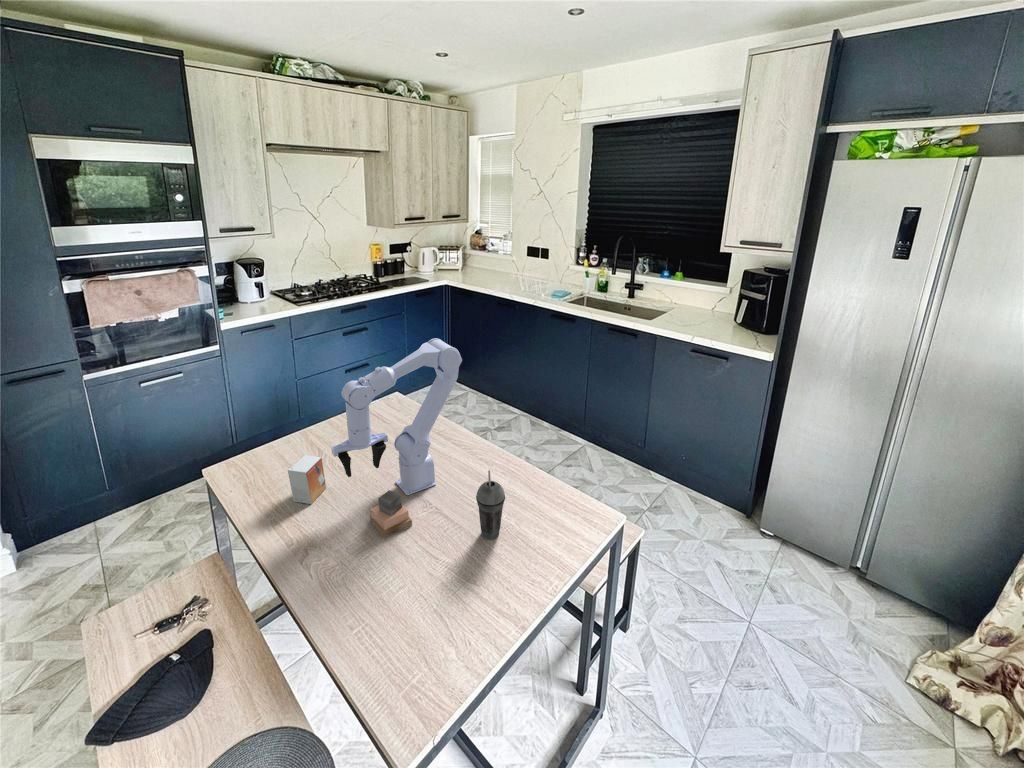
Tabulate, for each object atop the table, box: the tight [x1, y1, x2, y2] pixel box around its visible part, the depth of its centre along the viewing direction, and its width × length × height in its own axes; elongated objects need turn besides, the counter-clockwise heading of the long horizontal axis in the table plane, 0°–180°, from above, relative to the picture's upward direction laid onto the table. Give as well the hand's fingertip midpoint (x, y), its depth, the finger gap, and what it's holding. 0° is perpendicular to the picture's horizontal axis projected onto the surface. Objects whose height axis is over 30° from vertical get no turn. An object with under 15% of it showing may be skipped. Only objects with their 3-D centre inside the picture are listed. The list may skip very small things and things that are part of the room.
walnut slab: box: [369, 514, 413, 539], centre depth 130 cm, size 8×8×2 cm
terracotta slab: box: [369, 504, 410, 530], centre depth 129 cm, size 7×7×2 cm
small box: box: [287, 454, 327, 505], centre depth 138 cm, size 8×6×10 cm
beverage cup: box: [475, 470, 506, 541], centre depth 123 cm, size 7×7×20 cm
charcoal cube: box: [377, 490, 403, 516], centre depth 127 cm, size 4×4×4 cm
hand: (362, 470), depth 133 cm, fingers open, 7 cm apart
